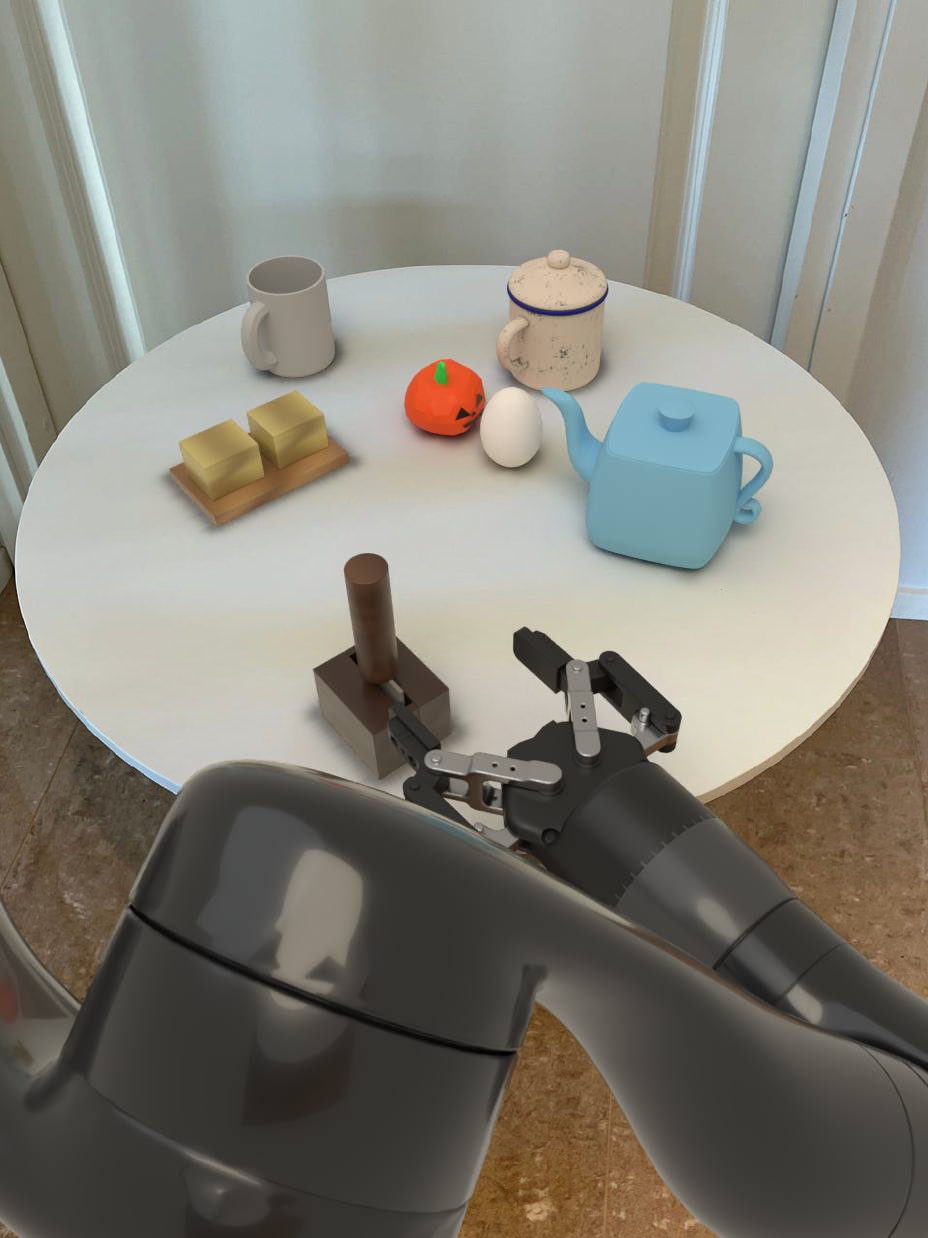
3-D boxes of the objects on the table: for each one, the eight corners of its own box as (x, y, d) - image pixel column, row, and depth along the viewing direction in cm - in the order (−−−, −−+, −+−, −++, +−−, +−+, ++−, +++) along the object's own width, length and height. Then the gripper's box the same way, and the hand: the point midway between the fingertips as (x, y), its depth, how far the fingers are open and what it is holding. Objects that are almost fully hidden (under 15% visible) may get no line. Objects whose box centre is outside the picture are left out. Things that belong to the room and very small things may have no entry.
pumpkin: (488, 397, 98) (488, 336, 93) (481, 450, 92) (480, 389, 88) (412, 394, 98) (408, 333, 94) (400, 447, 93) (395, 385, 88)
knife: (391, 758, 70) (372, 602, 59) (350, 712, 73) (323, 554, 62) (423, 738, 71) (409, 581, 60) (380, 693, 74) (360, 535, 63)
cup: (351, 353, 103) (341, 268, 97) (281, 403, 98) (266, 317, 92) (296, 330, 106) (283, 247, 100) (225, 378, 101) (207, 293, 94)
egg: (468, 468, 91) (466, 396, 86) (501, 436, 94) (501, 365, 88) (521, 489, 89) (522, 417, 83) (553, 455, 92) (556, 384, 86)
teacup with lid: (551, 330, 105) (555, 218, 97) (621, 366, 101) (632, 252, 92) (464, 381, 100) (461, 267, 91) (535, 421, 95) (538, 305, 87)
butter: (217, 527, 86) (205, 483, 83) (172, 479, 91) (159, 435, 87) (349, 463, 92) (343, 419, 88) (300, 420, 96) (293, 377, 93)
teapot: (559, 452, 92) (564, 337, 84) (767, 495, 88) (795, 377, 79) (513, 544, 84) (515, 426, 76) (740, 596, 80) (768, 478, 71)
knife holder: (379, 781, 69) (372, 735, 65) (321, 715, 73) (312, 668, 69) (452, 735, 71) (449, 688, 68) (392, 673, 75) (386, 626, 72)
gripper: (789, 757, 49) (557, 569, 58) (560, 936, 43) (341, 696, 52) (759, 842, 55) (552, 658, 64) (552, 1011, 49) (356, 783, 58)
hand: (457, 675), depth 58 cm, fingers open, 8 cm apart
